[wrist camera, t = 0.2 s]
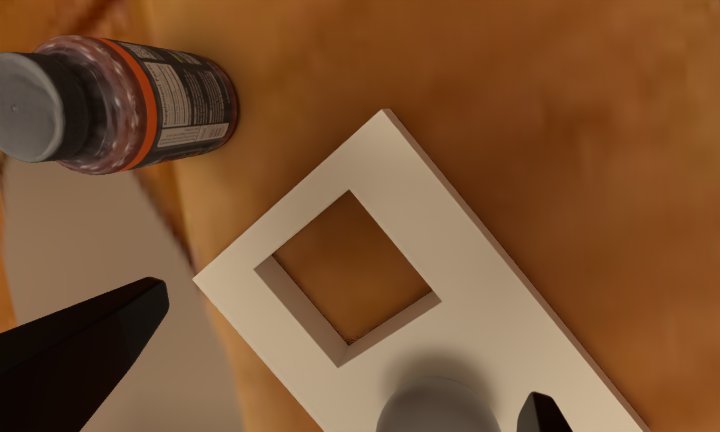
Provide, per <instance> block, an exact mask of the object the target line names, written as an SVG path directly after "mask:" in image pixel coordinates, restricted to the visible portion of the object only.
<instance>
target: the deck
mask: <svg viewBox="0 0 720 432" xmlns="http://www.w3.org/2000/svg"><path fill="white" fill-rule="evenodd" d="M348 190H350V191H351V192H352V193H353V194H354V196H355V197H356V198H357V199H358V200H359V202H360V203H361V204H362V205H363V206H364V208H365V209H366V210H367V211H368V212H369V214H370V215H371V216H372V217H373V218H374V220H375V221H376V222H377V223H378V225H379V226H380V227H381V228H382V229H383V231H384V232H385V233H386V234H387V235H388V237H389V238H390V239H391V240H392V241H393V243H394V244H395V245H396V246H397V247H398V249H399V250H400V251H401V252H402V253H403V255H404V256H405V257H406V258H407V259H408V261H409V262H410V263H411V264H412V266H413V267H414V268H415V269H416V270H417V272H418V273H419V274H420V275H421V276H422V278H423V279H424V280H425V281H426V282H427V284H428V285H429V286H430V287H431V288H432V290H433V291H431V292H430V293H428V294H427V295H425V296H424V297H422V298H421V299H419V300H418V301H416V302H415V303H413V304H412V305H410V306H408V307H407V308H405V309H404V310H402V311H401V312H399V313H398V314H396V315H395V316H393V317H392V318H390V319H389V320H387V321H386V322H384V323H383V324H381V325H380V326H378V327H376V328H375V329H373V330H372V331H370V332H369V333H367V334H366V335H364V336H363V337H361V338H360V339H358V340H357V341H355V342H354V343H352V344H351V345H349V346H348V344H347V343H346V342H345V341H344V340H343V339H342V337H341V336H340V335H339V334H338V333H337V332H336V330H335V329H334V328H333V327H332V326H331V324H330V323H329V322H328V321H327V320H326V319H325V317H324V316H323V315H322V314H321V313H320V312H319V310H318V309H317V308H316V307H315V306H314V305H313V303H312V302H311V301H310V300H309V299H308V297H307V296H306V295H305V294H304V293H303V292H302V290H301V289H300V288H299V287H298V286H297V285H296V283H295V282H294V281H293V280H292V279H291V278H290V276H289V275H288V274H287V273H286V272H285V270H284V269H283V268H282V267H281V266H280V265H279V263H278V262H277V261H276V260H275V259H274V258H273V256H272V254H273V253H274V252H275V251H276V250H278V249H279V248H280V247H281V246H282V245H284V244H285V243H286V242H287V241H288V240H289V239H291V238H292V237H293V236H294V235H295V234H297V233H298V232H299V231H300V230H301V229H303V228H304V227H305V226H306V225H307V224H309V223H310V222H311V221H312V220H313V219H315V218H316V217H317V216H318V215H319V214H320V213H322V212H323V211H324V210H325V209H326V208H328V207H329V206H330V205H331V204H332V203H334V202H335V201H336V200H337V199H338V198H340V197H341V196H342V195H343V194H344V193H346V192H347V191H348ZM192 280H193V281H194V282H195V283H196V284H197V286H198V287H199V288H200V289H201V290H202V291H203V292H204V294H205V295H206V296H207V297H208V298H209V299H210V301H211V302H212V303H213V304H214V305H215V306H216V307H217V309H218V310H219V311H220V312H221V313H222V314H223V316H224V317H225V318H226V319H227V320H228V321H229V322H230V324H231V325H232V326H233V327H234V328H235V329H236V330H237V332H238V333H239V334H240V335H241V336H242V337H243V339H244V340H245V341H246V342H247V343H248V344H249V345H250V347H251V348H252V349H253V350H254V351H255V352H256V354H257V355H258V356H259V357H260V358H261V359H262V360H263V362H264V363H265V364H266V365H267V366H268V367H269V368H270V370H271V371H272V372H273V373H274V374H275V375H276V377H277V378H278V379H279V380H280V381H281V382H282V383H283V385H284V386H285V387H286V388H287V389H288V390H289V391H290V393H291V394H292V395H293V396H294V397H295V398H296V400H297V401H298V402H299V403H300V404H301V405H302V406H303V408H304V409H305V410H306V411H307V412H308V413H309V415H310V416H311V417H312V418H313V419H314V420H315V421H316V423H317V424H318V425H319V426H320V427H321V428H322V429H323V431H324V432H376V427H377V422H378V419H379V417H380V414H381V411H382V409H383V408H384V406H385V404H386V402H387V401H388V400H389V398H390V397H391V396H392V395H393V394H394V393H395V392H396V391H397V390H398V389H399V388H401V387H402V386H404V385H405V384H407V383H409V382H411V381H413V380H416V379H419V378H424V377H432V376H436V377H445V378H449V379H453V380H455V381H458V382H460V383H462V384H464V385H466V386H468V387H469V388H471V389H472V390H473V391H475V392H476V393H477V394H478V395H479V396H480V397H481V398H482V399H483V400H484V401H485V402H486V404H487V405H488V406H489V408H490V409H491V411H492V412H493V414H494V416H495V418H496V419H497V422H498V424H499V427H500V429H501V432H517V420H518V416H519V413H520V411H521V409H522V407H523V405H524V403H525V401H526V399H527V397H528V395H529V394H530V393H531V392H532V391H536V392H539V393H542V394H546V395H549V396H551V397H552V398H553V399H554V401H555V402H556V404H557V406H558V407H559V409H560V411H561V412H562V414H563V416H564V417H565V419H566V421H567V422H568V424H569V426H570V427H571V429H572V430H573V432H651V431H650V429H649V428H648V426H647V425H646V424H645V423H644V422H643V420H642V419H641V418H640V417H639V415H638V414H637V413H636V412H635V410H634V409H633V408H632V407H631V405H630V404H629V403H628V402H627V401H626V399H625V398H624V397H623V396H622V394H621V393H620V392H619V391H618V389H617V388H616V387H615V386H614V385H613V383H612V382H611V381H610V380H609V378H608V377H607V376H606V375H605V373H604V372H603V371H602V370H601V368H600V367H599V366H598V365H597V364H596V362H595V361H594V360H593V359H592V357H591V356H590V355H589V354H588V352H587V351H586V350H585V349H584V348H583V346H582V345H581V344H580V343H579V341H578V340H577V339H576V338H575V336H574V335H573V334H572V333H571V331H570V330H569V329H568V328H567V327H566V325H565V324H564V323H563V322H562V320H561V319H560V318H559V317H558V315H557V314H556V313H555V312H554V311H553V309H552V308H551V307H550V306H549V304H548V303H547V302H546V301H545V299H544V298H543V297H542V296H541V294H540V293H539V292H538V291H537V290H536V288H535V287H534V286H533V285H532V283H531V282H530V281H529V280H528V278H527V277H526V276H525V275H524V274H523V272H522V271H521V270H520V269H519V267H518V266H517V265H516V264H515V262H514V261H513V260H512V259H511V258H510V256H509V255H508V254H507V253H506V251H505V250H504V249H503V248H502V246H501V245H500V244H499V243H498V241H497V240H496V239H495V238H494V237H493V235H492V234H491V233H490V232H489V230H488V229H487V228H486V227H485V225H484V224H483V223H482V222H481V221H480V219H479V218H478V217H477V216H476V214H475V213H474V212H473V211H472V209H471V208H470V207H469V206H468V204H467V203H466V202H465V201H464V200H463V198H462V197H461V196H460V195H459V193H458V192H457V191H456V190H455V188H454V187H453V186H452V185H451V184H450V182H449V181H448V180H447V179H446V177H445V176H444V175H443V174H442V172H441V171H440V170H439V169H438V167H437V166H436V165H435V164H434V163H433V161H432V160H431V159H430V158H429V156H428V155H427V154H426V153H425V151H424V150H423V149H422V148H421V147H420V145H419V144H418V143H417V142H416V140H415V139H414V138H413V137H412V135H411V134H410V133H409V132H408V130H407V129H406V128H405V127H404V126H403V124H402V123H401V122H400V121H399V119H398V118H397V117H396V116H395V114H394V113H393V112H392V111H391V110H390V109H381V110H380V111H379V112H378V113H377V114H376V115H374V116H373V117H372V118H371V119H370V120H369V121H368V122H367V123H365V124H364V125H363V126H362V127H361V128H360V129H359V130H358V131H357V132H355V133H354V134H353V135H352V136H351V137H350V138H349V139H348V140H347V141H345V142H344V143H343V144H342V145H341V146H340V147H339V148H338V149H337V150H335V151H334V152H333V153H332V154H331V155H330V156H329V157H328V158H327V159H325V160H324V161H323V162H322V163H321V164H320V165H319V166H318V167H317V168H315V169H314V170H313V171H312V172H311V173H310V174H309V175H308V176H306V177H305V178H304V179H303V180H302V181H301V182H300V183H299V184H298V185H296V186H295V187H294V188H293V189H292V190H291V191H290V192H289V193H288V194H286V195H285V196H284V197H283V198H282V199H281V200H280V201H279V202H278V203H276V204H275V205H274V206H273V207H272V208H271V209H270V210H269V211H268V212H266V213H265V214H264V215H263V216H262V217H261V218H260V219H259V220H258V221H256V222H255V223H254V224H253V225H252V226H251V227H250V228H249V229H248V230H246V231H245V232H244V233H243V234H242V235H241V236H240V237H239V238H237V239H236V240H235V241H234V242H233V243H232V244H231V245H230V246H229V247H227V248H226V249H225V250H224V251H223V252H222V253H221V254H220V255H219V256H217V257H216V258H215V259H214V260H213V261H212V262H211V263H210V264H209V265H207V266H206V267H205V268H204V269H203V270H202V271H201V272H200V273H199V274H197V275H196V276H195V277H194V278H193V279H192Z"/></svg>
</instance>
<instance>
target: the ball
mask: <svg viewBox="0 0 720 432" xmlns="http://www.w3.org/2000/svg"><path fill="white" fill-rule="evenodd" d="M376 432H501V429H500V427H499V424H498V422H497V419H496V418H495V416H494V414H493V412H492V411H491V409H490V408H489V406H488V405H487V404H486V402H485V401H484V400H483V399H482V398H481V397H480V396H479V395H478V394H477V393H476V392H475V391H473V390H472V389H471V388H469V387H468V386H466V385H464V384H462V383H460V382H458V381H455V380H453V379H449V378H445V377H436V376H432V377H424V378H419V379H416V380H413V381H411V382H409V383H407V384H405V385H404V386H402V387H401V388H399V389H398V390H397V391H396V392H395V393H394V394H393V395H392V396H391V397H390V398H389V400H388V401H387V402H386V404H385V406H384V408H383V409H382V411H381V414H380V417H379V419H378V422H377V427H376Z"/></svg>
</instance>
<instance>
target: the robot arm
mask: <svg viewBox="0 0 720 432" xmlns="http://www.w3.org/2000/svg"><path fill="white" fill-rule="evenodd" d="M168 309H169V298H168V293H167V287H166V283H165V282H164V281H163V280H160V279H157V278H154V277H146V278H143V279H141V280H138V281H135V282H133V283H130V284H127V285H125V286H122V287H120V288H117V289H114V290H112V291H110V292H107V293H104V294H101V295H99V296H96V297H94V298H91V299H88V300H86V301H83V302H81V303H78V304H75V305H73V306H71V307H68V308H65V309H62V310H60V311H57V312H55V313H52V314H50V315H47V316H44V317H42V318H39V319H37V320H34V321H32V322H29V323H26V324H23V325H21V326H18V327H16V328H13V329H10V330H8V331H5V332H3V333H0V432H80V430H81V429H82V428H83V426H84V425H85V424H86V423H87V422H88V420H89V419H90V418H91V417H92V415H93V414H94V413H95V412H96V410H97V409H98V408H99V407H100V405H101V404H102V403H103V402H104V400H105V399H106V398H107V397H108V395H109V394H110V393H111V392H112V390H113V389H114V388H115V387H116V385H117V384H118V383H119V382H120V380H121V379H122V378H123V377H124V375H125V374H126V373H127V371H128V370H129V369H130V368H131V366H132V365H133V364H134V362H135V361H136V359H137V358H138V357H139V355H140V354H141V352H142V350H143V349H144V347H145V346H146V344H147V343H148V341H149V340H150V338H151V337H152V335H153V334H154V332H155V331H156V329H157V328H158V326H159V325H160V323H161V321H162V320H163V319H164V317H165V315H166V314H167V312H168ZM517 432H573V430H572V429H571V427H570V426H569V424H568V422H567V421H566V419H565V417H564V416H563V414H562V412H561V411H560V409H559V407H558V406H557V404H556V402H555V401H554V399H553V398H552V397H551V396H549V395H546V394H542V393H539V392H536V391H532V392H531V393H530V394H529V395H528V397H527V399H526V401H525V403H524V405H523V407H522V409H521V411H520V413H519V416H518V420H517Z"/></svg>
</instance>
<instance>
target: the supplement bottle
mask: <svg viewBox="0 0 720 432" xmlns="http://www.w3.org/2000/svg"><path fill="white" fill-rule="evenodd" d="M237 112H238V111H237V100H236V96H235V92H234V89H233V87H232V85H231V82H230V81H229V79H228V77H227V76H226V74H225V73H224V72H223V71H222V70H221V69H220V68H219V67H218V66H217V65H216V64H214V63H213V62H211V61H210V60H208V59H206V58H203V57H200V56H198V55H194V54H191V53H186V52H180V51H174V50H168V49H163V48H157V47H152V46H146V45H140V44H133V43H129V42H122V41H117V40H111V39H105V38H97V37H92V36H86V35H62V36H58V37H55V38H52V39H49V40H48V41H46V42H44V43H42V44H41V45H40V46H38V47H37V48H36V49H35V50H34V51H33V52H32V53H19V52H3V53H0V149H1V150H2V151H3V152H4V153H6V154H8V155H9V156H11V157H13V158H15V159H17V160H20V161H24V162H31V163H37V162H45V161H57V162H58V163H59V164H61V165H62V166H64V167H66V168H68V169H70V170H73V171H76V172H78V173H82V174H90V175H105V174H111V173H115V172H120V171H125V170H131V169H135V168H140V167H145V166H150V165H154V164H157V163H162V162H167V161H172V160H177V159H182V158H186V157H192V156H196V155H201V154H204V153H207V152H210V151H213V150H215V149H217V148H219V147H220V146H221V145H223V144H224V143H225V142H226V141H227V140H228V138H229V137H230V135H231V133H232V131H233V129H234V127H235V124H236V120H237Z"/></svg>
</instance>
